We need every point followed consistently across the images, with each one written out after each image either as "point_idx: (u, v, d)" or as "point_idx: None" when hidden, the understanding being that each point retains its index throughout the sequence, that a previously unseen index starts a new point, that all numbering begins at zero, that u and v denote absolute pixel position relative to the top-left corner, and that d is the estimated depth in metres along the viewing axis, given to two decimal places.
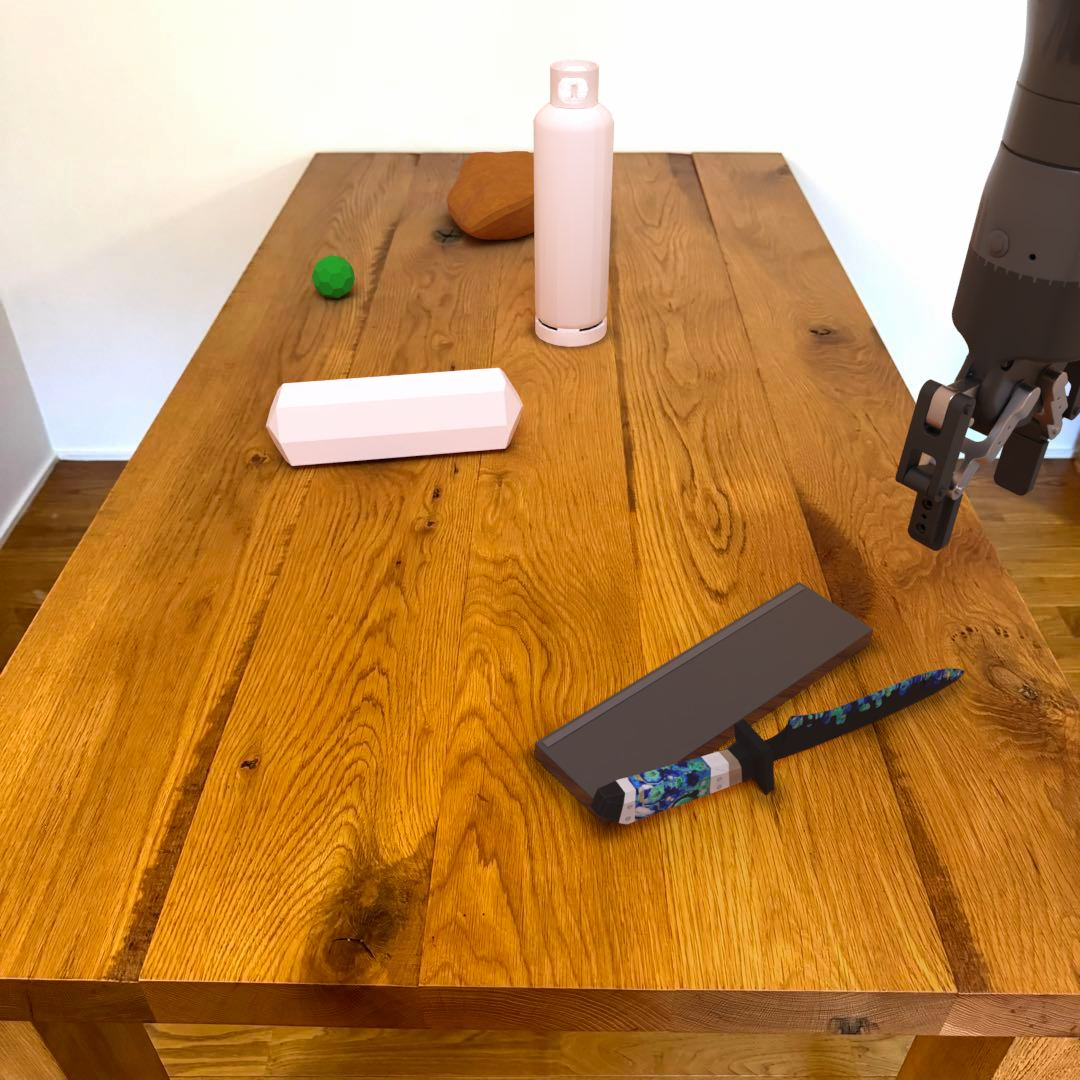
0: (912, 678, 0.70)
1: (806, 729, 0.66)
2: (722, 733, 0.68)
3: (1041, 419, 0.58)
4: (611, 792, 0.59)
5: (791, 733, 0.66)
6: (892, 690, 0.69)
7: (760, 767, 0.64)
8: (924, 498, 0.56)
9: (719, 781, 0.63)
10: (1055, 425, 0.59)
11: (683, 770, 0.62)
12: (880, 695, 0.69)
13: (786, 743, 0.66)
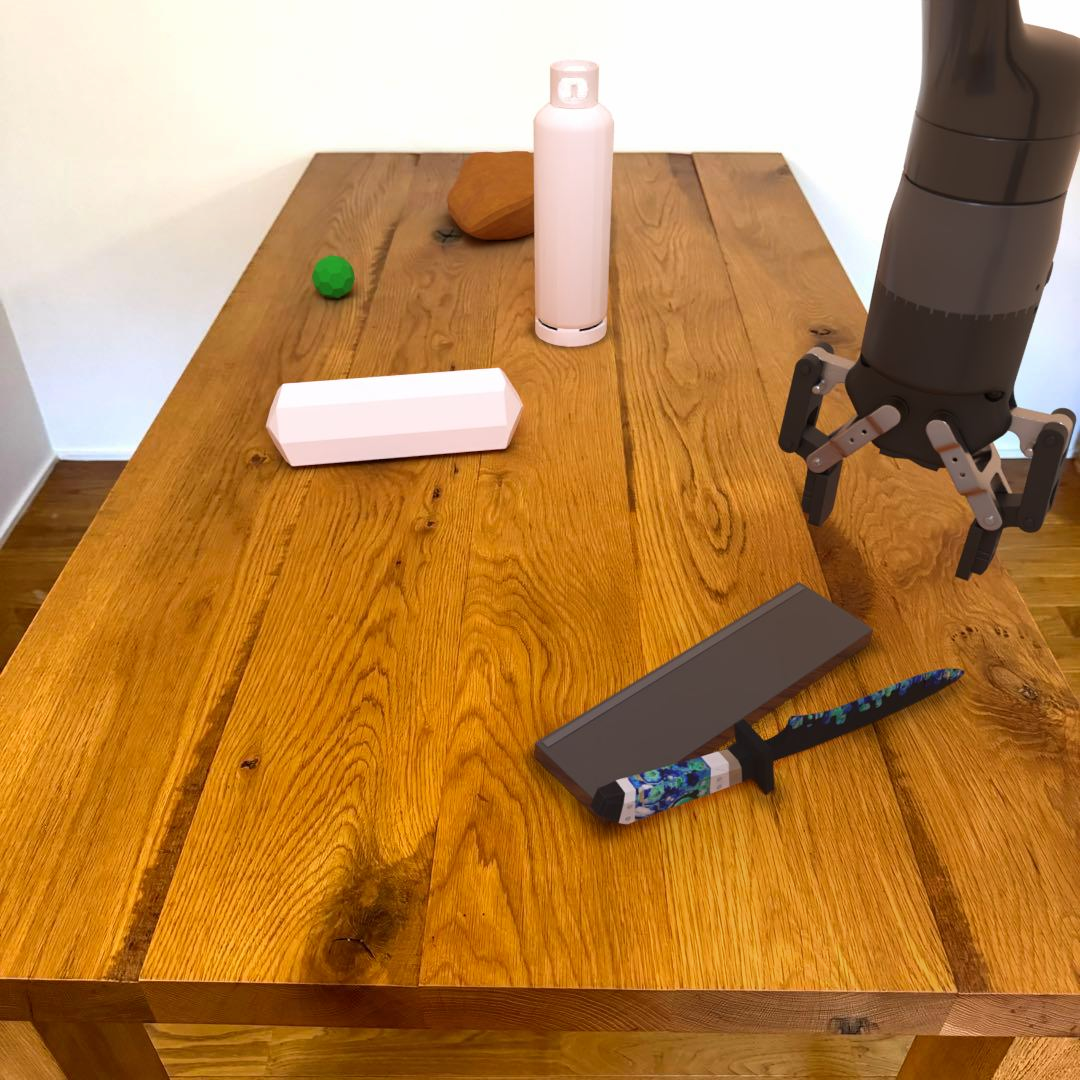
0: (912, 678, 0.70)
1: (806, 729, 0.66)
2: (722, 733, 0.68)
3: None
4: (611, 792, 0.59)
5: (791, 733, 0.66)
6: (892, 690, 0.69)
7: (760, 767, 0.64)
8: None
9: (719, 781, 0.63)
10: (984, 510, 0.53)
11: (683, 770, 0.62)
12: (880, 695, 0.69)
13: (786, 743, 0.66)
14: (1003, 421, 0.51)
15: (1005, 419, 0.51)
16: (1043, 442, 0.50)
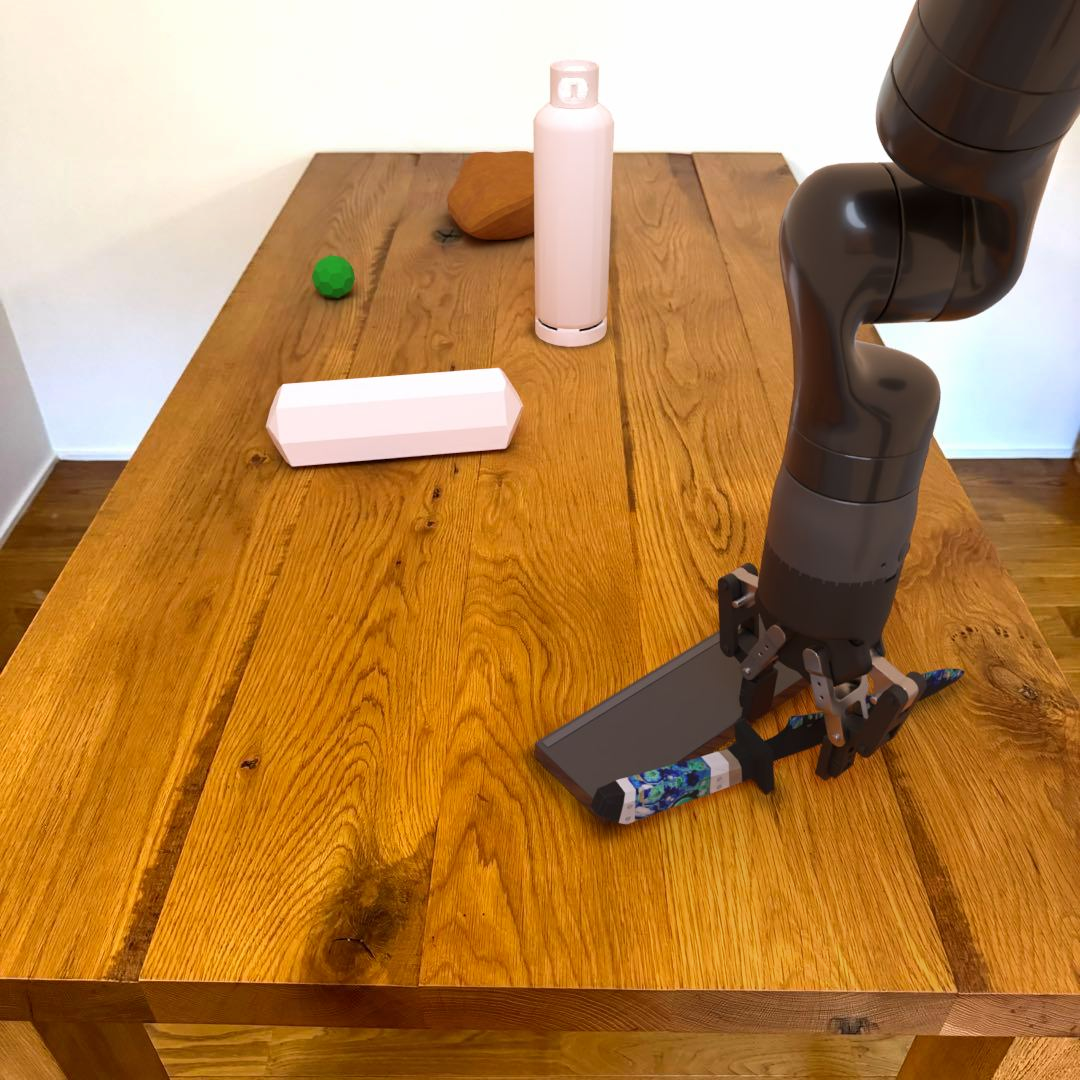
0: None
1: (806, 729, 0.66)
2: (722, 733, 0.68)
3: None
4: (611, 792, 0.59)
5: (791, 733, 0.66)
6: None
7: (760, 767, 0.64)
8: None
9: (719, 781, 0.63)
10: (833, 728, 0.62)
11: (683, 770, 0.62)
12: None
13: (786, 743, 0.66)
14: (863, 667, 0.58)
15: (864, 662, 0.58)
16: (885, 699, 0.57)
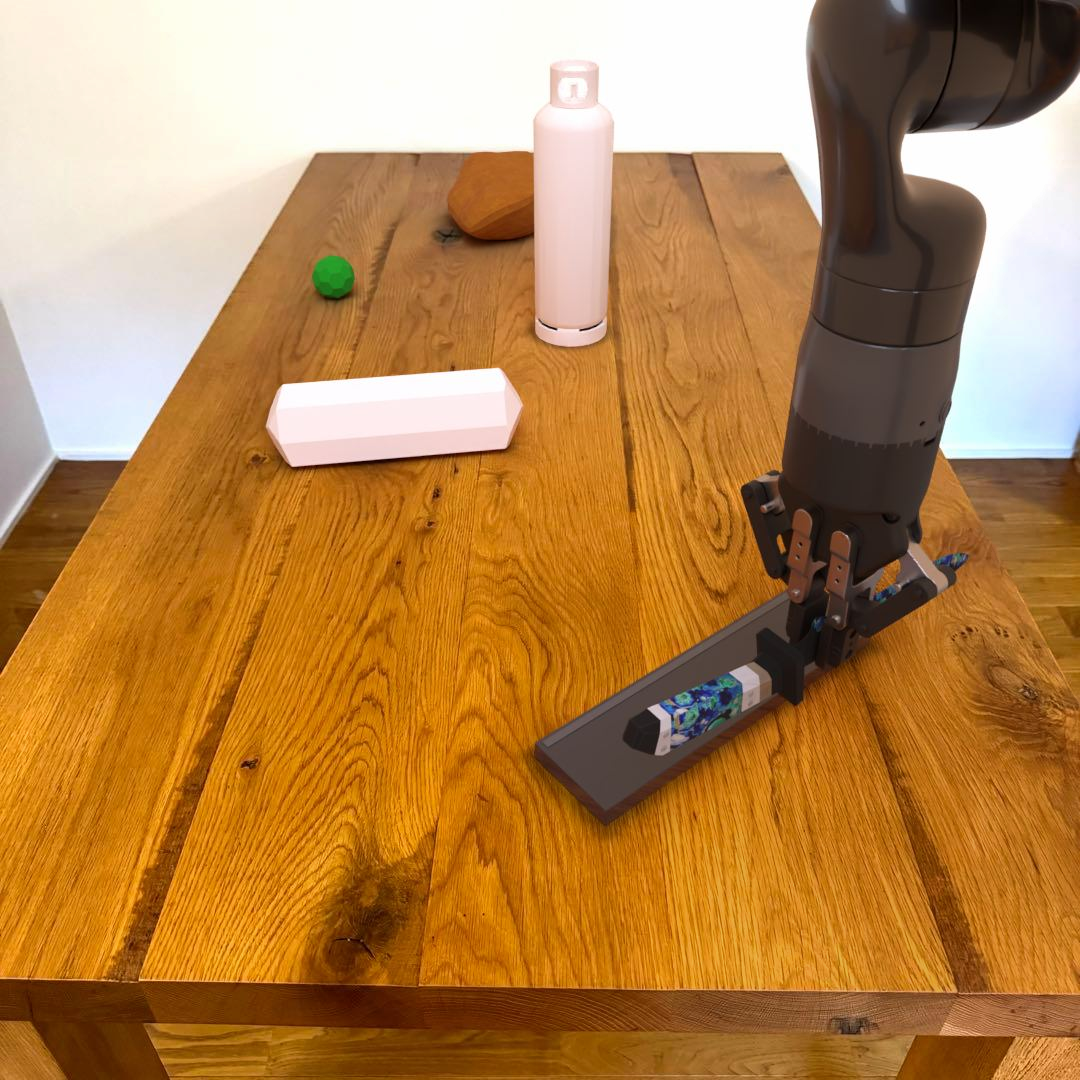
0: None
1: None
2: (722, 733, 0.68)
3: None
4: (645, 721, 0.53)
5: (815, 637, 0.61)
6: None
7: (791, 676, 0.58)
8: None
9: (750, 696, 0.57)
10: (836, 611, 0.58)
11: (714, 689, 0.56)
12: None
13: (810, 648, 0.61)
14: (896, 552, 0.53)
15: (900, 542, 0.53)
16: (912, 591, 0.53)
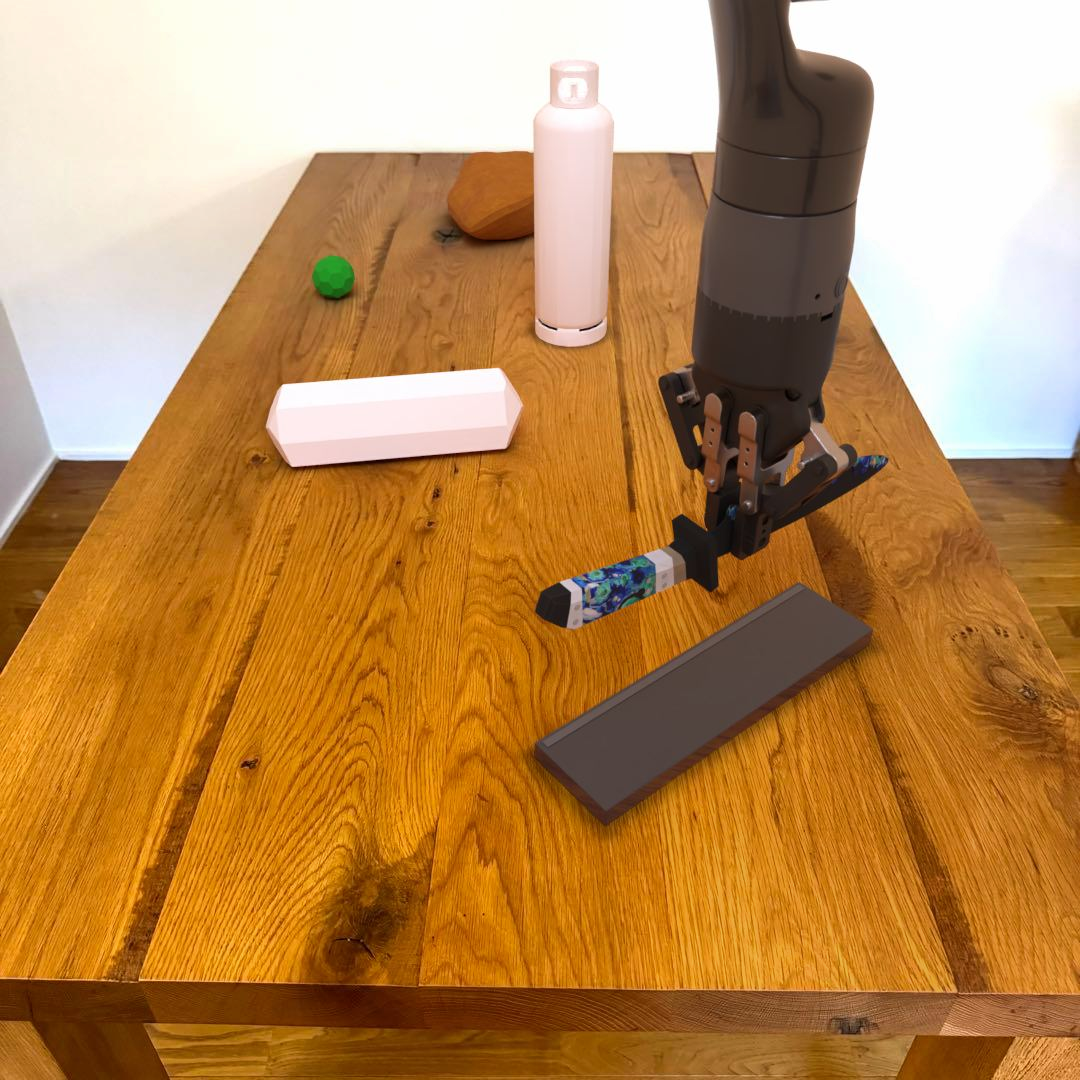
0: None
1: None
2: (722, 733, 0.68)
3: None
4: (556, 593, 0.55)
5: (730, 525, 0.62)
6: None
7: (704, 560, 0.60)
8: None
9: (664, 578, 0.59)
10: (748, 495, 0.59)
11: (627, 568, 0.58)
12: None
13: (726, 537, 0.63)
14: (799, 430, 0.55)
15: (802, 419, 0.54)
16: (813, 467, 0.55)
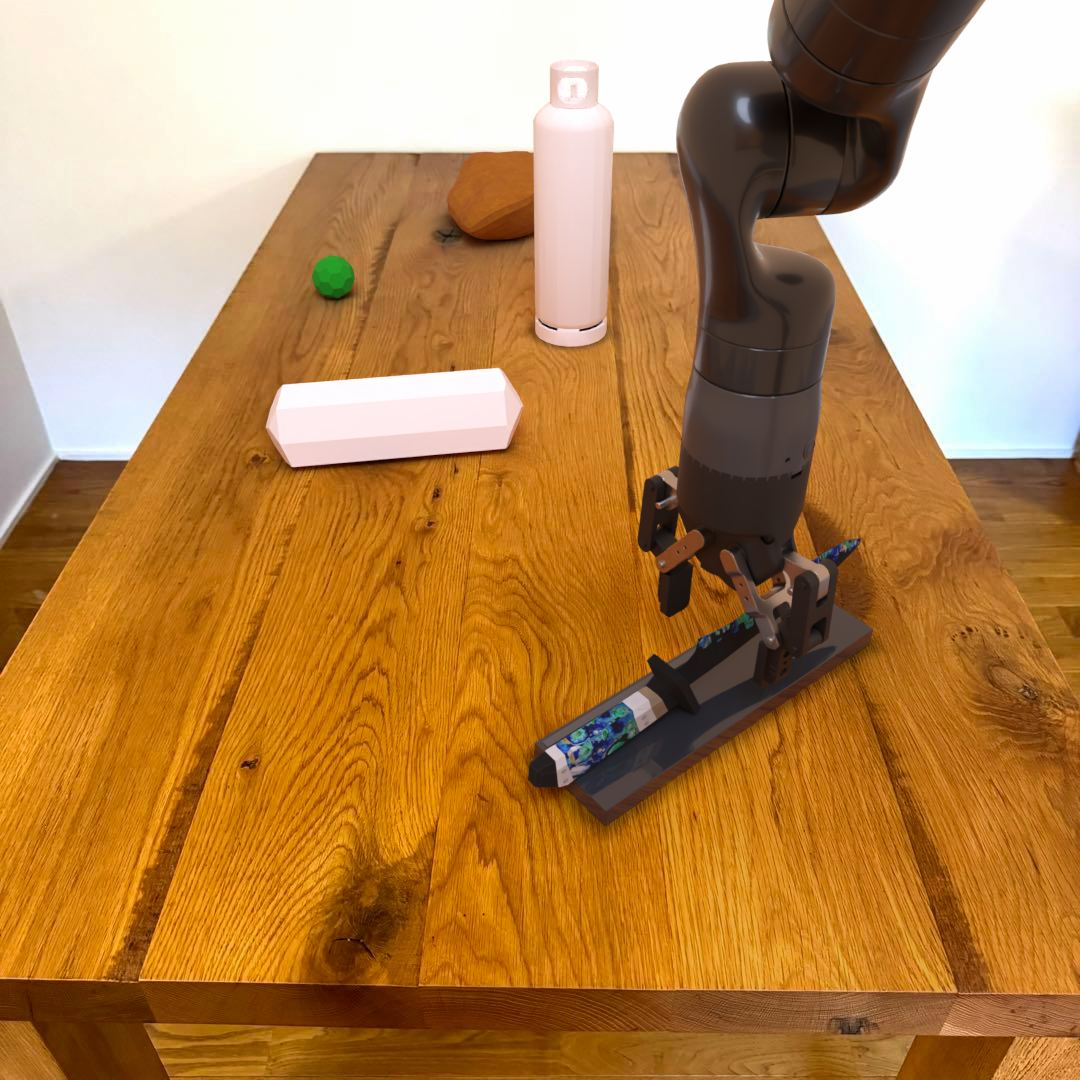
0: None
1: (717, 644, 0.69)
2: (722, 733, 0.68)
3: None
4: (542, 764, 0.62)
5: (703, 652, 0.68)
6: None
7: (680, 695, 0.67)
8: None
9: (644, 719, 0.66)
10: (766, 631, 0.63)
11: (607, 721, 0.65)
12: None
13: (701, 662, 0.69)
14: (774, 561, 0.60)
15: (776, 560, 0.60)
16: (797, 585, 0.59)
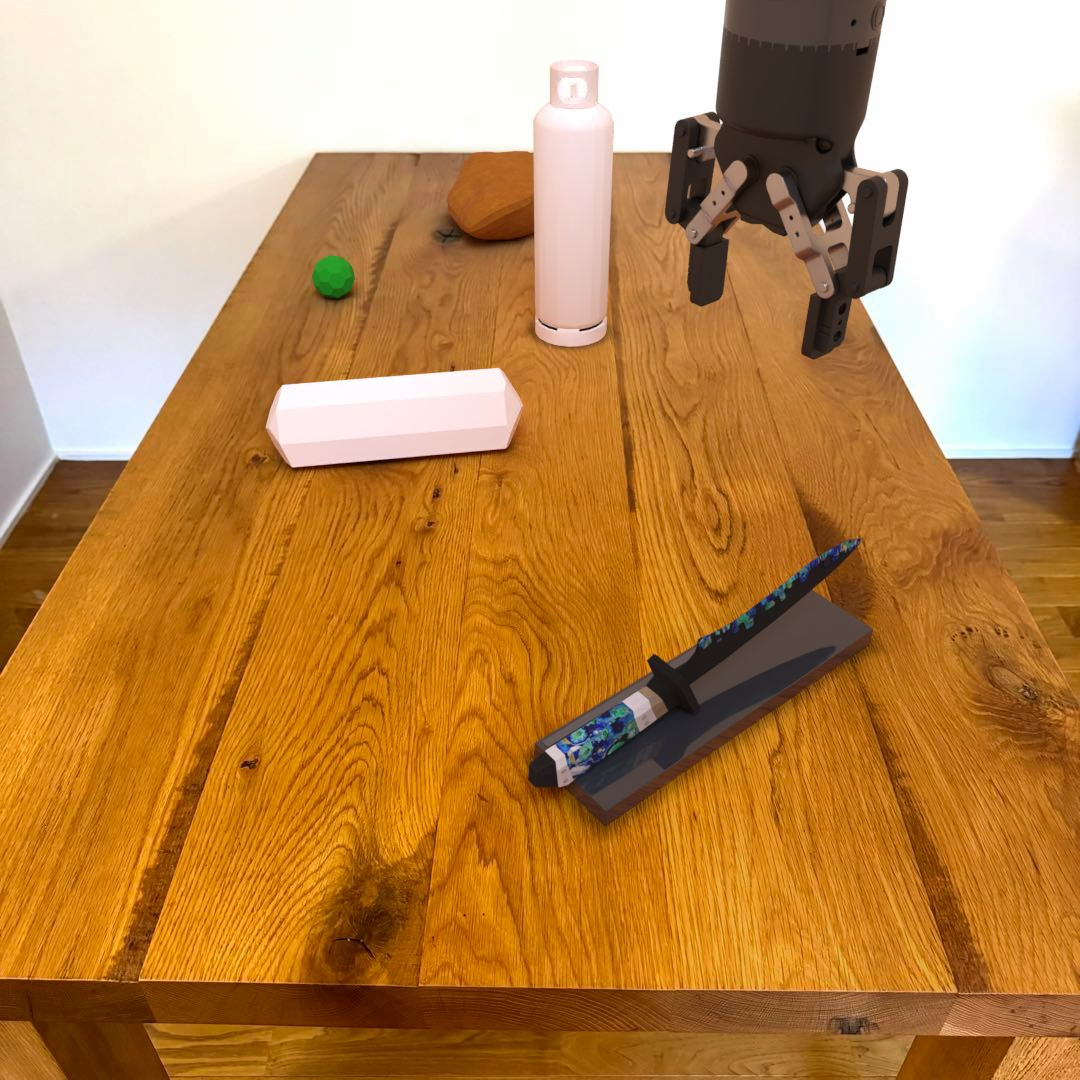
0: (809, 564, 0.72)
1: (717, 644, 0.69)
2: (722, 733, 0.68)
3: None
4: (542, 764, 0.62)
5: (703, 652, 0.68)
6: (792, 581, 0.72)
7: (680, 695, 0.67)
8: None
9: (644, 719, 0.66)
10: (819, 275, 0.54)
11: (607, 721, 0.65)
12: (782, 589, 0.71)
13: (701, 662, 0.69)
14: (832, 175, 0.51)
15: (835, 174, 0.51)
16: (861, 195, 0.50)
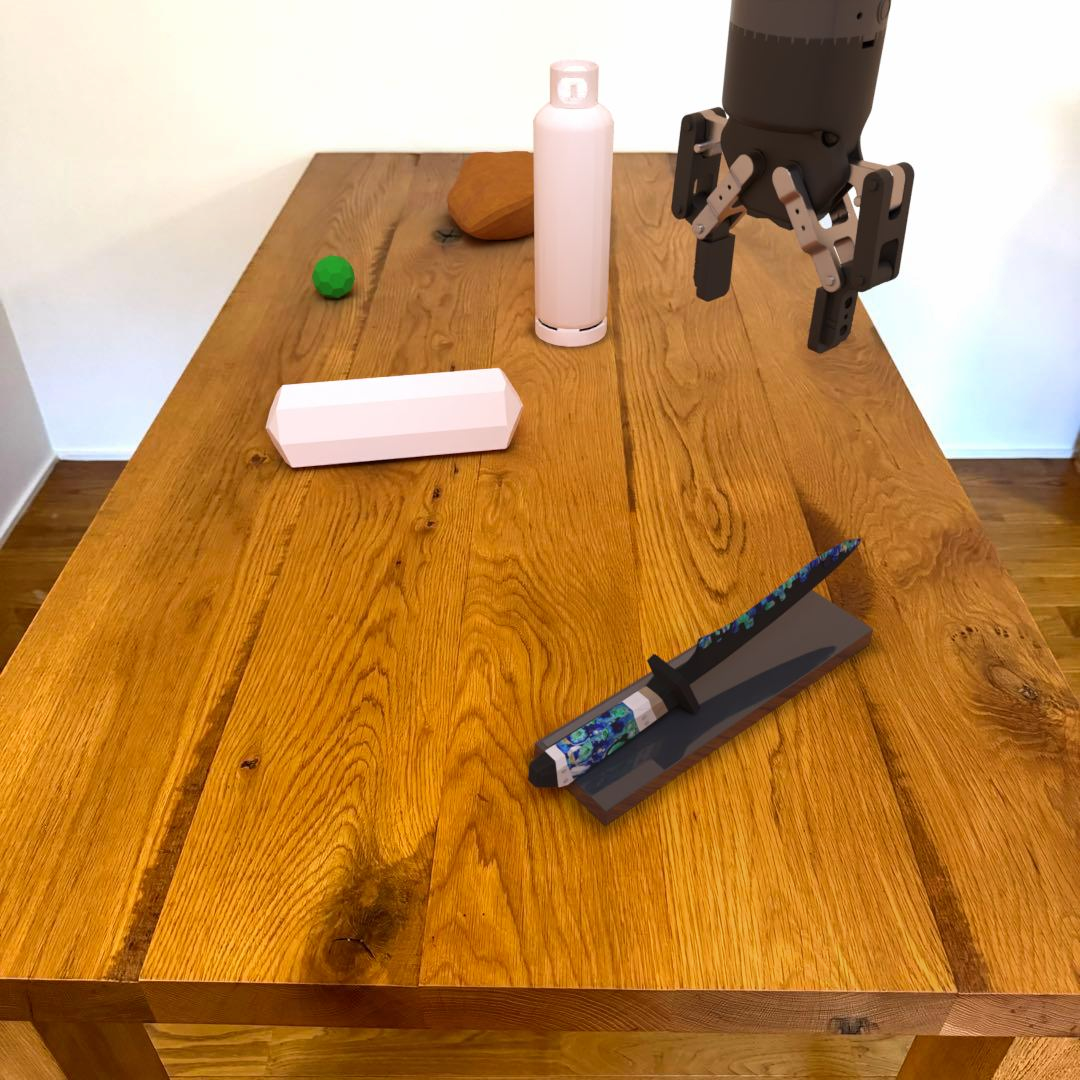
0: (809, 564, 0.72)
1: (717, 644, 0.69)
2: (722, 733, 0.68)
3: None
4: (542, 764, 0.62)
5: (703, 652, 0.68)
6: (792, 581, 0.72)
7: (680, 695, 0.67)
8: None
9: (644, 719, 0.66)
10: (825, 269, 0.54)
11: (607, 721, 0.65)
12: (782, 589, 0.71)
13: (701, 662, 0.69)
14: (838, 169, 0.51)
15: (840, 167, 0.51)
16: (867, 187, 0.50)
